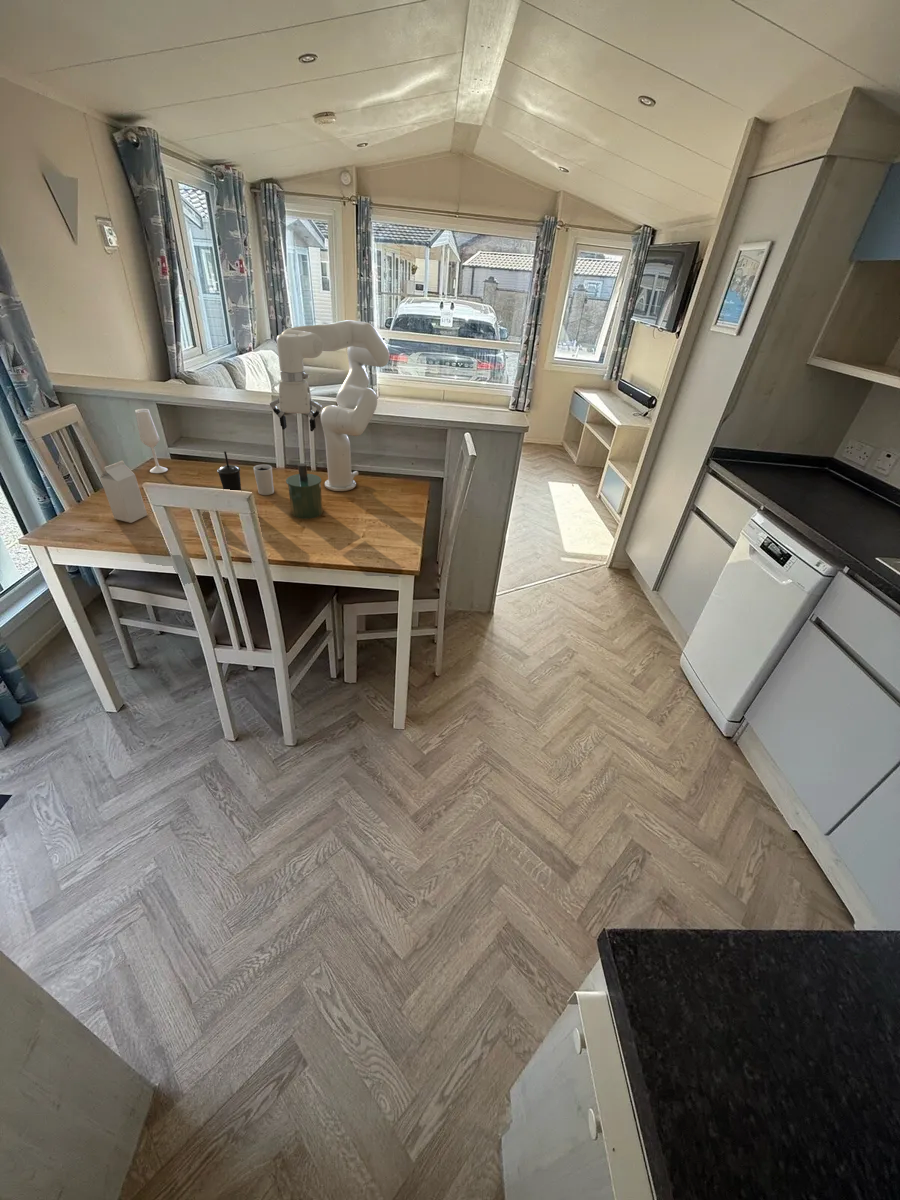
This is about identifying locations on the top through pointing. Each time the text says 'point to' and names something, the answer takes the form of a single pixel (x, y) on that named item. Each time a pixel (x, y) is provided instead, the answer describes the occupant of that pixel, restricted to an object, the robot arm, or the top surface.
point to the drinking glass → (264, 479)
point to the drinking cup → (229, 476)
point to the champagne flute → (149, 435)
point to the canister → (306, 501)
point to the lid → (303, 478)
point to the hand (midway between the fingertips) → (298, 429)
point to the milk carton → (123, 492)
